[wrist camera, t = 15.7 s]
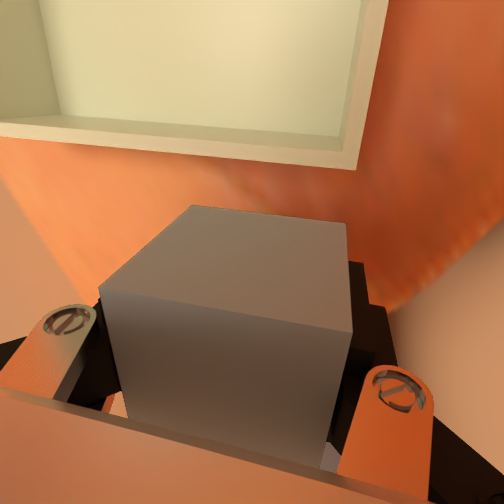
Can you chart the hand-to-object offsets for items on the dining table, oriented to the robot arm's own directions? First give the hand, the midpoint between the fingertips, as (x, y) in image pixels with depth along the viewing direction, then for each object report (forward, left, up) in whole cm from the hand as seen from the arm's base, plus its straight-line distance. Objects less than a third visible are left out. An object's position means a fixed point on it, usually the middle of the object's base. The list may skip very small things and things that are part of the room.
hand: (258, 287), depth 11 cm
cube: (0, 0, -1) cm, 1 cm away
